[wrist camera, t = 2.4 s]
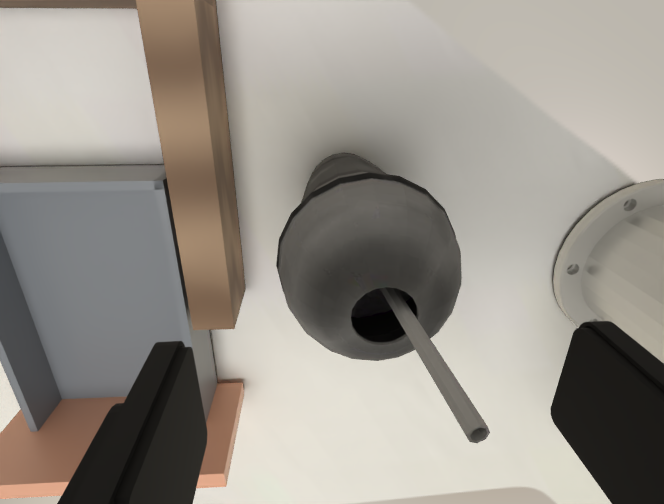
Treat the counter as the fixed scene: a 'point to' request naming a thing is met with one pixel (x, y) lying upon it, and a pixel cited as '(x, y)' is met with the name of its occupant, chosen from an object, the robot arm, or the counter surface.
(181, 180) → the housing
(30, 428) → the tray
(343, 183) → the beverage cup
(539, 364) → the counter surface
